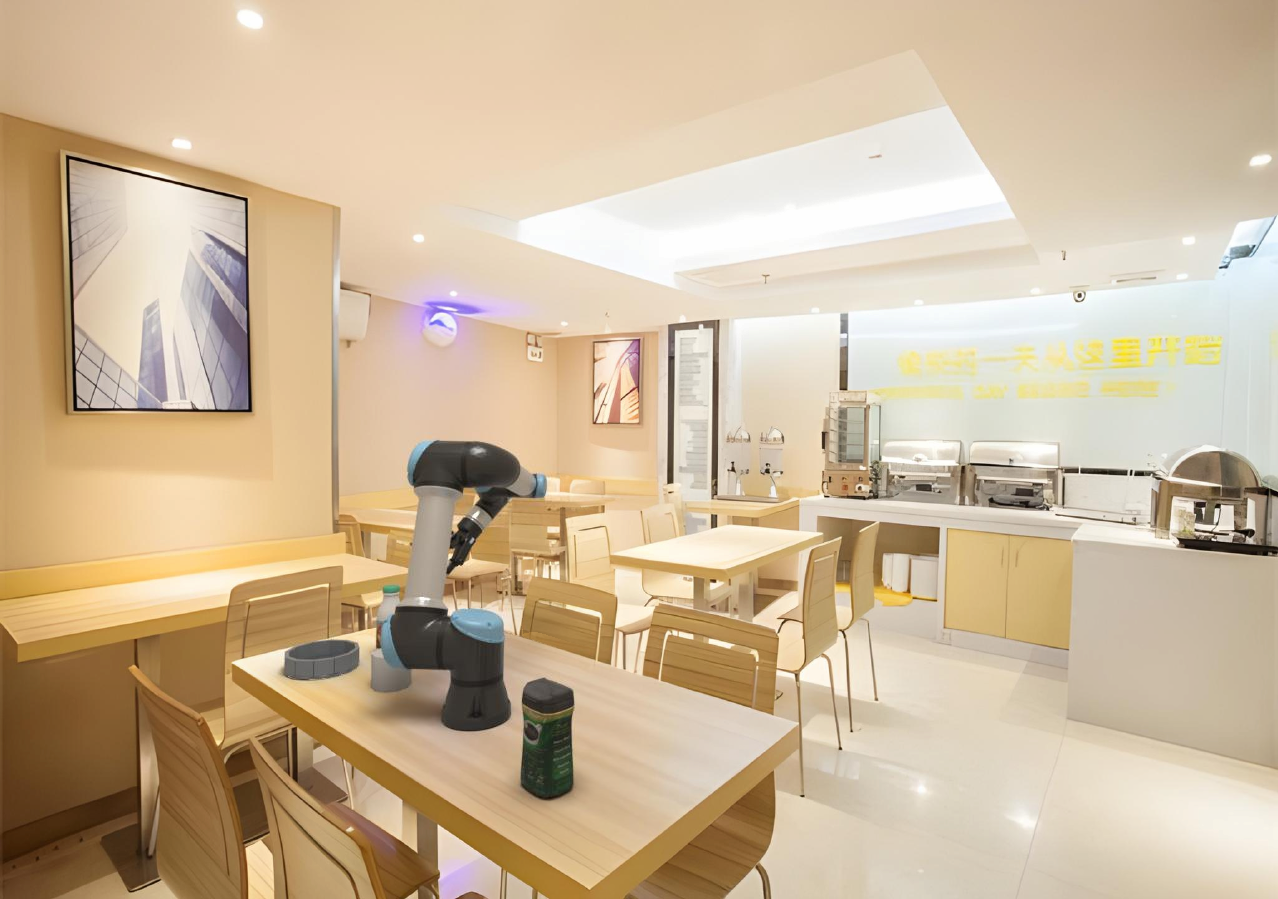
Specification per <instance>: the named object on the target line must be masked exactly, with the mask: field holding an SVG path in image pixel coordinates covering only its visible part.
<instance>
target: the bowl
mask: <svg viewBox="0 0 1278 899" xmlns="http://www.w3.org/2000/svg"><path fill="white" fill-rule="evenodd" d="M359 663H360V645H359V642H356V641H353V640H349V639H334V638H333V639H324V640H323V639H322V640H314V641H309V642H305V643H301V644H297V645H294V646H293V647H291V648H289V649H287V650H285V651H284V663H283V664H284V666H283V667H284V669H283V670H284V672H285V674H286V675H287V676H289V677H291V678H295V679H321V680H323V679H322V678H327V679H331V678H330V677H333V678H335V677H334V676H337V677H340V676H342V675H341V674H344V675H346V674H348V672H349V673H351V672H353V671H354V670H356V669H357V668H358V667H357V666H359V665H360V664H359ZM358 664H359V665H358ZM355 668H356V669H355ZM353 669H354V670H353ZM352 670H353V671H352ZM350 671H351V672H350ZM345 673H346V674H345ZM285 674H284V675H285ZM339 675H340V676H339ZM291 678H290V679H291ZM295 679H294V680H295Z"/></svg>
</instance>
